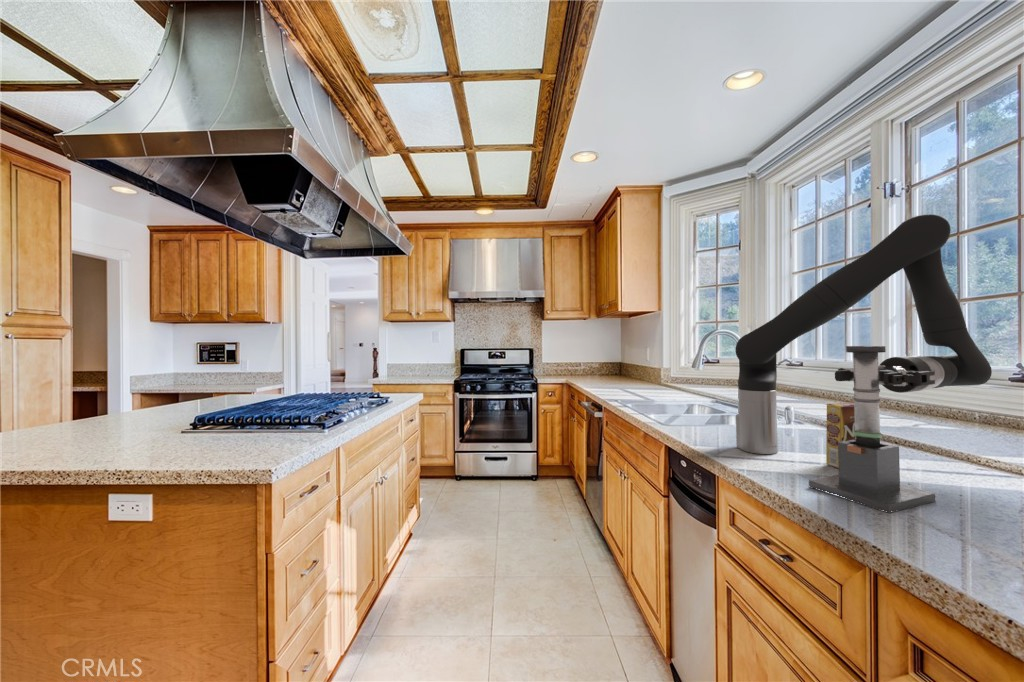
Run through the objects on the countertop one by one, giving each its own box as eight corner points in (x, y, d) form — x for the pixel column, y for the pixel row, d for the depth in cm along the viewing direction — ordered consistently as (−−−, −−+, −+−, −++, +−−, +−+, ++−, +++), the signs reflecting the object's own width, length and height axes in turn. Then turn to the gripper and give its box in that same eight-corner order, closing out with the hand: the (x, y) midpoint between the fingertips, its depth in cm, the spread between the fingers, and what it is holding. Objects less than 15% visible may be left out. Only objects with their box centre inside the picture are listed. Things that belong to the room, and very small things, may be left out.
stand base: (809, 487, 86) (807, 440, 86) (852, 478, 91) (851, 433, 91) (889, 513, 73) (887, 457, 73) (935, 501, 77) (934, 448, 77)
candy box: (842, 470, 97) (840, 405, 97) (825, 464, 101) (824, 403, 101) (874, 467, 98) (872, 404, 98) (857, 462, 102) (855, 401, 102)
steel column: (841, 449, 84) (838, 346, 84) (860, 446, 86) (858, 345, 86) (875, 456, 78) (873, 346, 78) (895, 453, 80) (892, 345, 80)
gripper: (871, 355, 93) (822, 357, 88) (955, 357, 80) (904, 360, 75) (871, 388, 93) (823, 392, 88) (956, 395, 80) (905, 400, 74)
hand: (860, 377), depth 81 cm, fingers open, 8 cm apart
